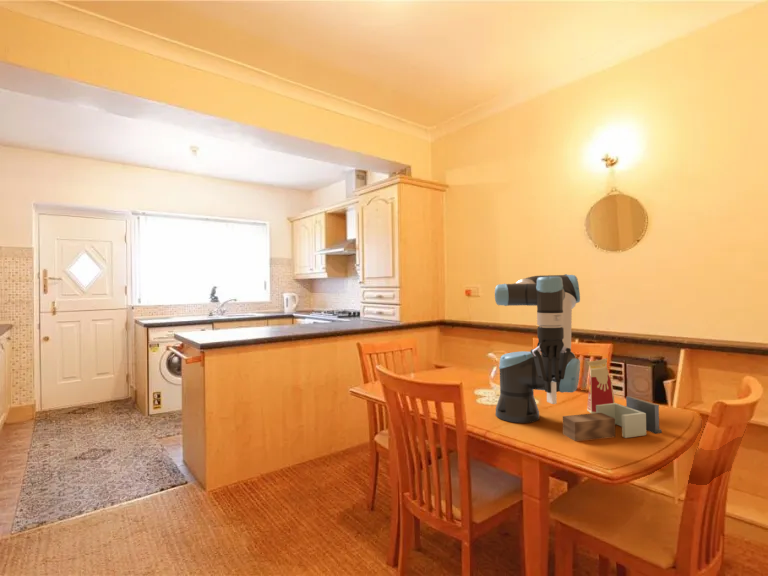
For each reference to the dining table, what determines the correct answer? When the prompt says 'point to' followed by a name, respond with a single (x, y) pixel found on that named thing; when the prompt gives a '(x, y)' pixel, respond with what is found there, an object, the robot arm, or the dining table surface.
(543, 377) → the robot arm
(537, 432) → the dining table surface
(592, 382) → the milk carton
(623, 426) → the socket block
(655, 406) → the plate
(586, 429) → the walnut bar
